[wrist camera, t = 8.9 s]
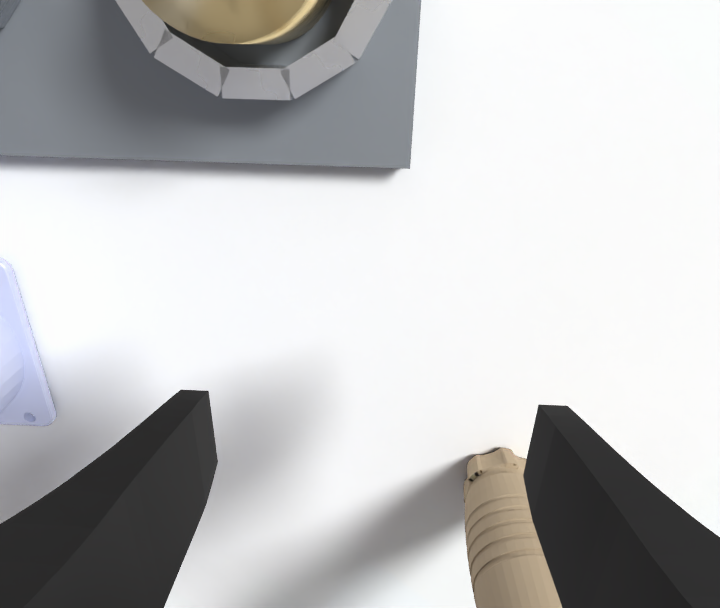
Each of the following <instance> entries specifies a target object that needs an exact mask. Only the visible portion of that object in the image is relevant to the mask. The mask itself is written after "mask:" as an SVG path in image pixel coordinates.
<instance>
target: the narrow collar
mask: <svg viewBox="0 0 720 608" xmlns="http://www.w3.org/2000/svg"><path fill="white" fill-rule="evenodd" d="M21 1H22V0H0V28H5V27H6V25H7V23H8V22H9V20H10V19H11V17H12V15H13V14H14V12H15V11H16V9H17V8H18V6H19V4H20V3H21Z"/></svg>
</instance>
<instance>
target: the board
mask: <svg viewBox="0 0 720 608" xmlns="http://www.w3.org/2000/svg"><path fill="white" fill-rule="evenodd" d="M353 2H354V0H332V1H331V3H330V5H329V7H328V9H327V10H326V12H325V13H324V15H323V16H322V17H321V19H320V20H319V21H318V22H317V23H316V24H315V25H314V26H313V27H312V28H311V29H310V30H308V31H307V32H306V33H304V34H303V35H301V36H299V37H298V38H296V39H293V40H291V41H288V42H284V43H280V44H272V45H261V44H224V43H213V42H209V43H211V44H212V45H214V46H215V47H217V48H218V49H220V50H222V51H223V52H225V53H226V54H228V55H229V56H231V57H233V58H234V59H236V60H237V61H239V62H240V63H242V64H267V65H291V64H292V63H294V62H296V61H297V60H299V59H300V58H302V57H304V56H305V55H307V54H308V53H310V52H312V51H313V50H315V49H316V48H318V47H320V46H321V45H323V44H324V43H326V42H328V41H329V40H331V39H332V38H334V37H336V35H337V33H338V31H339V29H340V27H341V25H342V23H343V21H344V19H345V18H346V16H347V14H348V12H349V10H350V8H351V6H352V4H353ZM420 9H421V0H392V2H391V4H390V6H389V8H388V9H387V11H386V13H385V15H384V17H383V18H382V20H381V22H380V24H379V26H378V28H377V29H376V31H375V33H374V35H373V37H372V38H371V40H370V42H369V44H368V46H367V47H366V49H365V51H364V53H363V55H362V57H361V58H360V59H358V61H357V62H356V63H354V64H353V65H351V66H349V67H348V68H346V69H344V70H343V71H341V72H339V73H338V74H336V75H334V76H333V77H331V78H329V79H328V80H326V81H324V82H323V83H321V84H319V85H318V86H316V87H314V88H313V89H311V90H310V91H308V92H306V93H305V94H303V95H301V96H300V97H298V98H296V99H295V98H293V99H292V100H261V99H227V98H222V96H219V97H217V96H215V95H214V94H212V93H211V92H209V91H207V90H206V89H204V88H203V87H201V86H199V85H198V84H196V83H194V82H193V81H191V80H190V79H188V78H186V77H185V76H183V75H181V74H180V73H178V72H177V71H175V70H173V69H172V68H170V67H168V66H167V65H165V64H164V63H162V62H160V61H159V60H157V59H155V58H154V56H155V53H151V54H150V53H149V51H148V50H147V48H146V47H145V45H144V44H143V42H142V41H141V39H140V38H139V36H138V35H137V33H136V31H135V30H134V28H133V27H132V25H131V24H130V22H129V21H128V19H127V18H126V16H125V15H124V13H123V11H122V10H121V8H120V7H119V5H118V4H117V2H116V1H115V0H22V1H21V3H20V4H19V6H18V8H17V9H16V11H15V12H14V14H13V15H12V17H11V19H10V20H9V22H8V23H7V25H6V27H5V28H0V155H3V156H34V157H65V158H96V159H128V160H159V161H190V162H221V163H252V164H283V165H314V166H345V167H376V168H407V169H410V159H411V144H412V129H413V114H414V99H415V84H416V69H417V54H418V39H419V24H420ZM207 42H208V41H207Z"/></svg>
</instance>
